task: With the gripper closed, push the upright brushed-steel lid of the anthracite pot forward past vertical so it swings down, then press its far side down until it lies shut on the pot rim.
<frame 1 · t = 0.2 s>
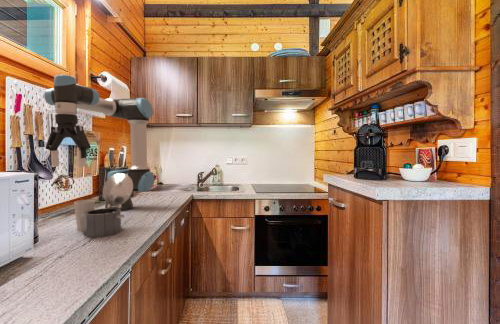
hand: (68, 166, 114), 28 cm above the countertop, fingers open, 13 cm apart
lid: (119, 190, 125), point 16 cm above the countertop, hinge at 110.0°
cup: (85, 228, 123), on the countertop
pot: (103, 232, 116), on the countertop
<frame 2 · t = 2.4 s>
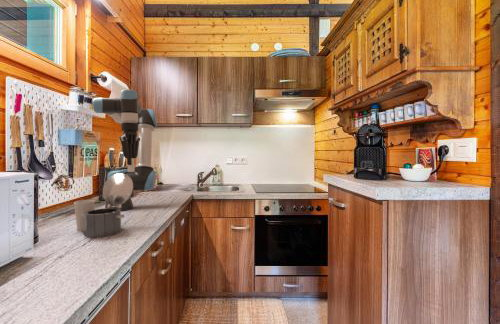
hand: (131, 171, 134), 24 cm above the countertop, fingers closed
nothing on the countertop moved.
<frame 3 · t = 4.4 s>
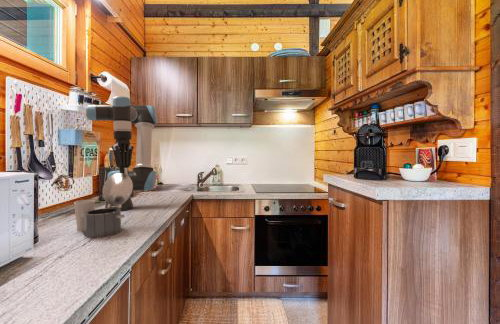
hand: (124, 181, 129), 20 cm above the countertop, fingers closed
lid: (118, 190, 125), point 16 cm above the countertop, hinge at 108.6°, touching gripper
everything else where it was.
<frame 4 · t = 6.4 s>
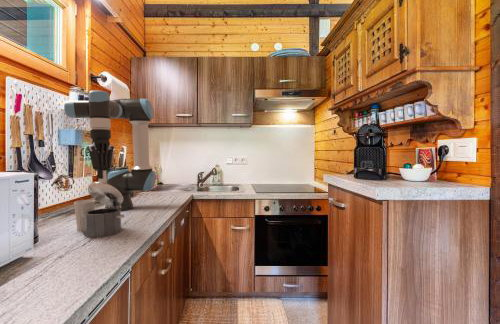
hand: (102, 186, 115), 19 cm above the countertop, fingers closed
lid: (107, 193, 118), point 16 cm above the countertop, hinge at 50.7°, touching gripper
everything else where it was.
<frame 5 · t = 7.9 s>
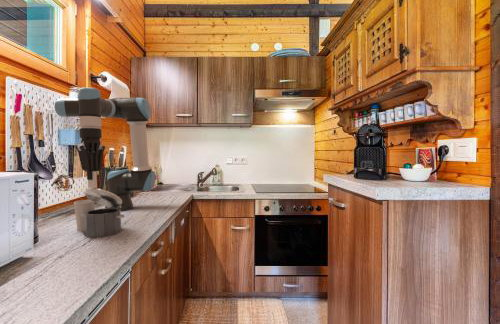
hand: (92, 187, 110), 19 cm above the countertop, fingers closed
lid: (105, 196, 117), point 15 cm above the countertop, hinge at 38.1°, touching gripper
everything else where it was.
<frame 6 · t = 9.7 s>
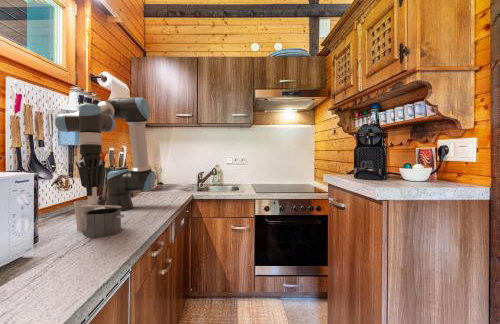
hand: (92, 203, 110), 13 cm above the countertop, fingers closed
lid: (102, 203, 115), point 12 cm above the countertop, hinge at 12.5°, touching gripper
everything else where it was.
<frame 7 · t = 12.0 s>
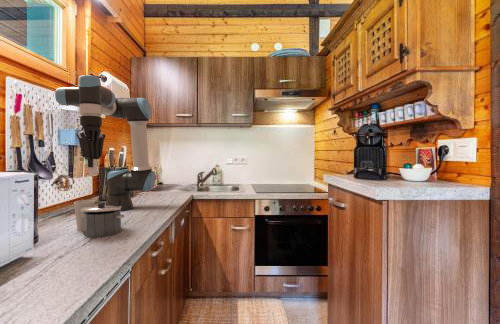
hand: (93, 175, 111), 24 cm above the countertop, fingers closed
lid: (102, 206, 115), point 11 cm above the countertop, hinge at 5.1°
everything else where it was.
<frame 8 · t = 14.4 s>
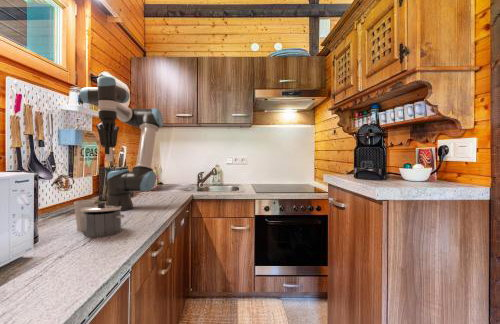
hand: (109, 161, 131), 29 cm above the countertop, fingers closed
nothing on the countertop moved.
at the end: lid at +5° (first picture: +110°) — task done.
